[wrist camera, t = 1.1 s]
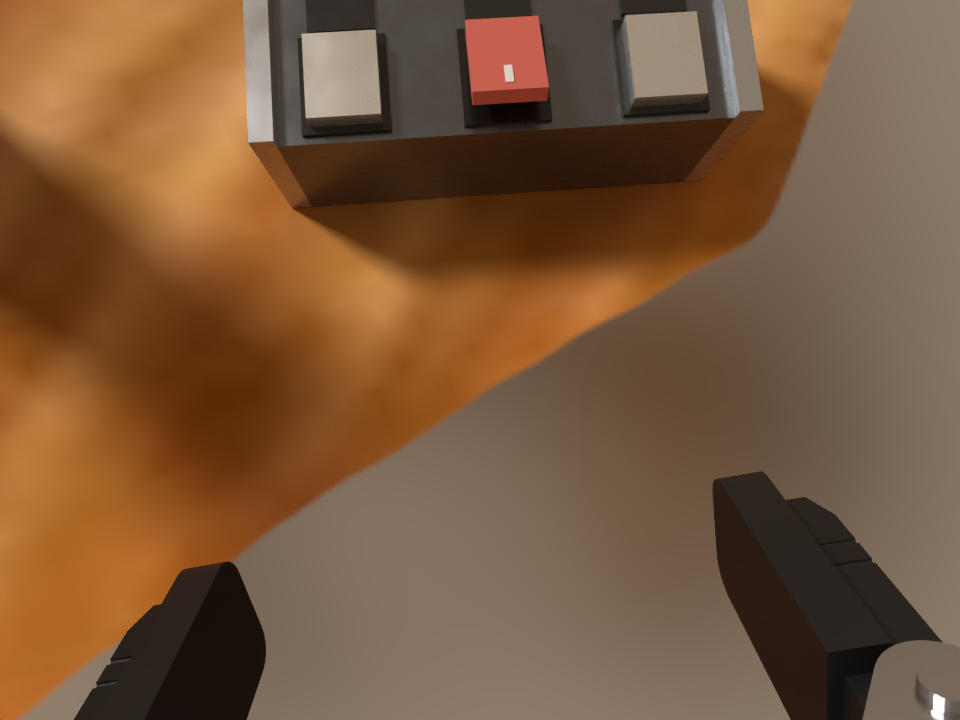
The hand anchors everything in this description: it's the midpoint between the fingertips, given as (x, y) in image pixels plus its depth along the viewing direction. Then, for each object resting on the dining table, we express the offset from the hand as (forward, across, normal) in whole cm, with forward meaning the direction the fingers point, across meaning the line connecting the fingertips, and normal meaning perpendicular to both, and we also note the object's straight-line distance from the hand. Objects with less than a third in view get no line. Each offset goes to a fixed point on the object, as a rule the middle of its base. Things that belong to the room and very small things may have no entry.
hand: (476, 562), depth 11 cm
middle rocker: (+27, -3, -8) cm, 28 cm away
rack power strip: (+36, -2, -5) cm, 36 cm away
